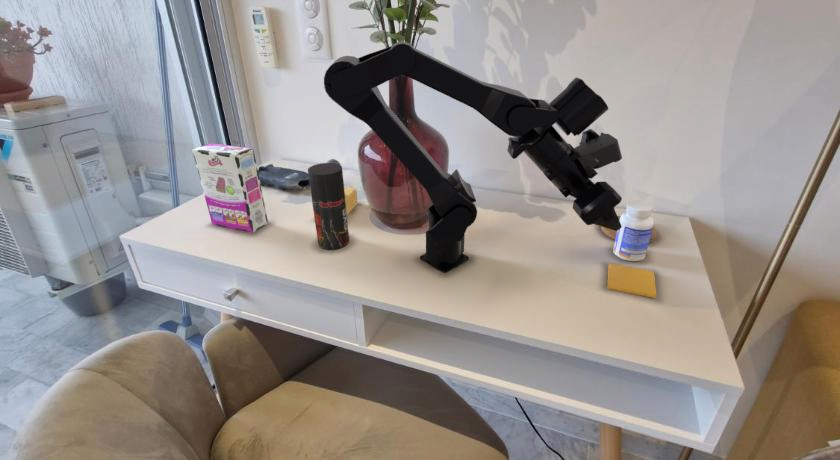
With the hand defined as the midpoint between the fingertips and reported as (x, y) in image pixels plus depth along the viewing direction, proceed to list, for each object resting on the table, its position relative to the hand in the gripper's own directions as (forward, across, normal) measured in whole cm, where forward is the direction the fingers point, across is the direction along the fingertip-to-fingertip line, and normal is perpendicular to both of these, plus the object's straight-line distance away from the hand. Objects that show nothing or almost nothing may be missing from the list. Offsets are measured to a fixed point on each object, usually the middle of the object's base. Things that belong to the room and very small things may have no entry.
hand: (607, 216), depth 75 cm
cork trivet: (+12, +8, -1) cm, 15 cm away
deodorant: (-28, +8, +40) cm, 50 cm away
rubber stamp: (-29, +21, +41) cm, 54 cm away
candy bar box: (-43, +16, +55) cm, 71 cm away
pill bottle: (+10, 0, +2) cm, 10 cm away
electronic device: (-40, +38, +52) cm, 76 cm away
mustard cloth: (+7, -8, +4) cm, 12 cm away
